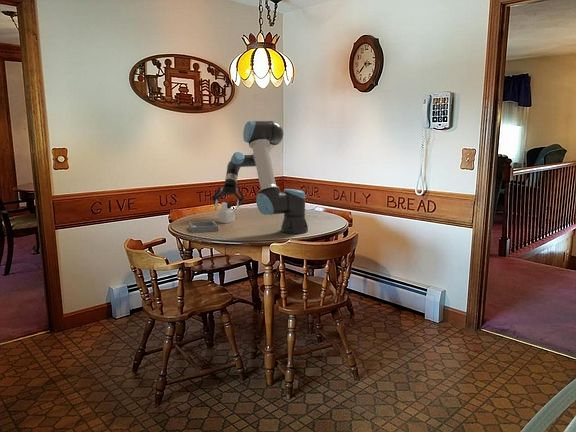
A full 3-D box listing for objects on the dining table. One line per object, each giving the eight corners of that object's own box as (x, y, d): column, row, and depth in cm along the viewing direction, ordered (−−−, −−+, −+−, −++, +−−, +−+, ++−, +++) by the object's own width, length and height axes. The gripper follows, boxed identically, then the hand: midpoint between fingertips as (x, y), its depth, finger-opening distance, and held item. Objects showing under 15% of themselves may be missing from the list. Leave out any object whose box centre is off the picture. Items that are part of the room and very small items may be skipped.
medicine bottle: (226, 220, 281) (226, 201, 279) (234, 221, 277) (234, 202, 274) (218, 221, 276) (217, 202, 273) (226, 223, 271) (225, 203, 269)
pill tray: (218, 230, 252) (217, 225, 251) (192, 232, 247) (192, 227, 246) (213, 225, 265) (213, 220, 264) (189, 227, 260) (188, 222, 259)
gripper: (250, 185, 290) (247, 213, 278) (212, 185, 292) (207, 212, 280) (249, 178, 284) (245, 206, 272) (210, 178, 286) (205, 205, 274)
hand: (226, 209), depth 276 cm, fingers open, 13 cm apart
